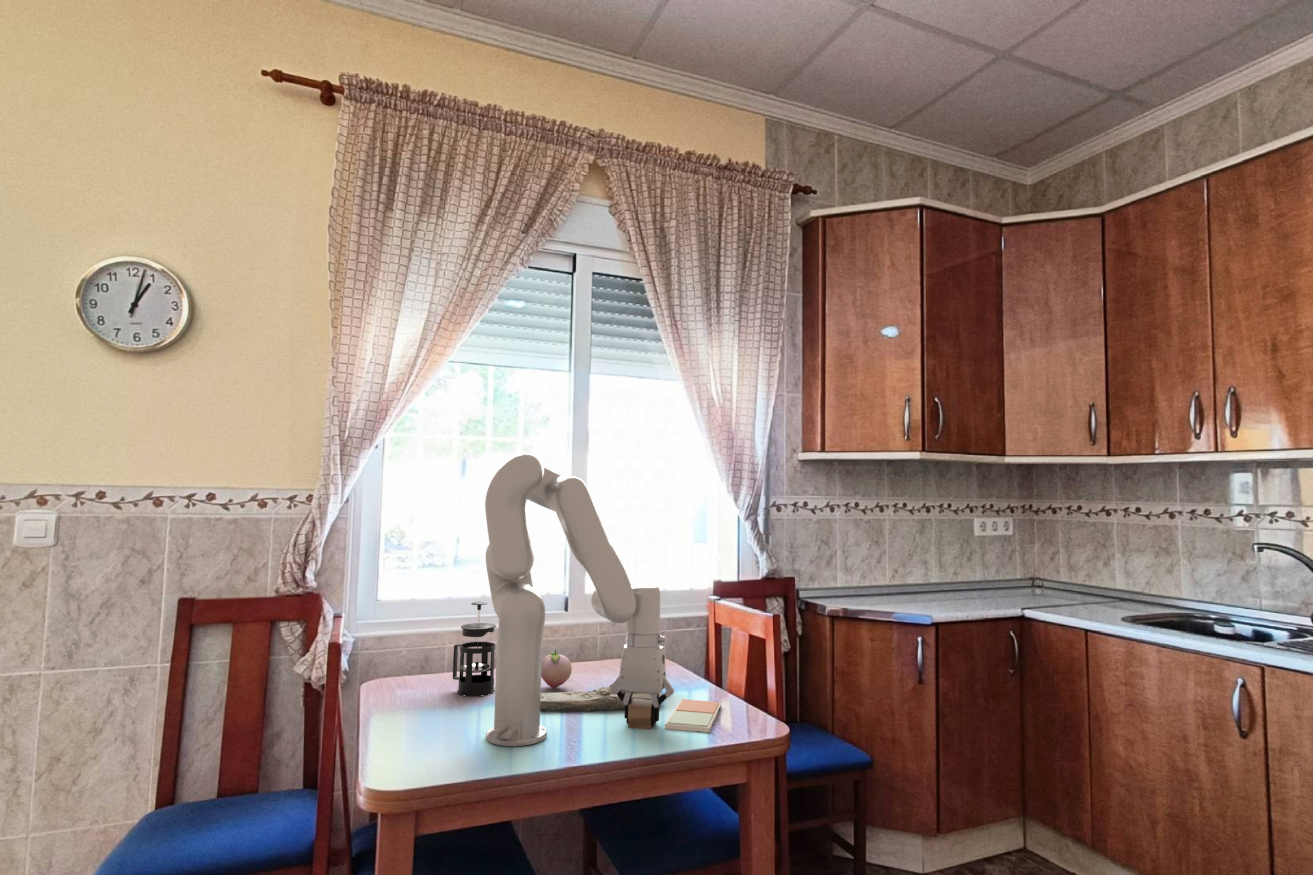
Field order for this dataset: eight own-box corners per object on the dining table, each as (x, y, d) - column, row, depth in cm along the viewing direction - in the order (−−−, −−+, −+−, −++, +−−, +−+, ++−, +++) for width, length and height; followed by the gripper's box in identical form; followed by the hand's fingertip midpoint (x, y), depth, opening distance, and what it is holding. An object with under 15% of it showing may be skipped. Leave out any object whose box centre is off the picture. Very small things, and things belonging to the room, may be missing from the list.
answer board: (709, 732, 155) (709, 726, 155) (664, 728, 157) (664, 722, 158) (721, 707, 175) (721, 701, 175) (681, 703, 177) (681, 698, 177)
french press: (502, 688, 188) (506, 600, 190) (486, 698, 179) (490, 605, 181) (462, 685, 191) (465, 598, 193) (444, 694, 182) (448, 603, 184)
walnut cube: (649, 729, 157) (650, 706, 157) (628, 727, 158) (628, 704, 158) (654, 722, 162) (655, 700, 162) (633, 721, 163) (634, 698, 163)
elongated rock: (519, 708, 176) (518, 723, 166) (519, 686, 176) (517, 700, 166) (659, 696, 181) (665, 710, 172) (658, 676, 182) (664, 688, 172)
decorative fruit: (575, 691, 187) (576, 652, 187) (544, 694, 184) (545, 654, 184) (566, 682, 195) (567, 645, 196) (536, 685, 192) (537, 647, 193)
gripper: (683, 639, 163) (681, 721, 161) (611, 635, 167) (609, 715, 165) (676, 645, 156) (675, 731, 154) (602, 641, 160) (600, 724, 158)
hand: (641, 722), depth 160 cm, fingers closed on walnut cube, 5 cm apart
